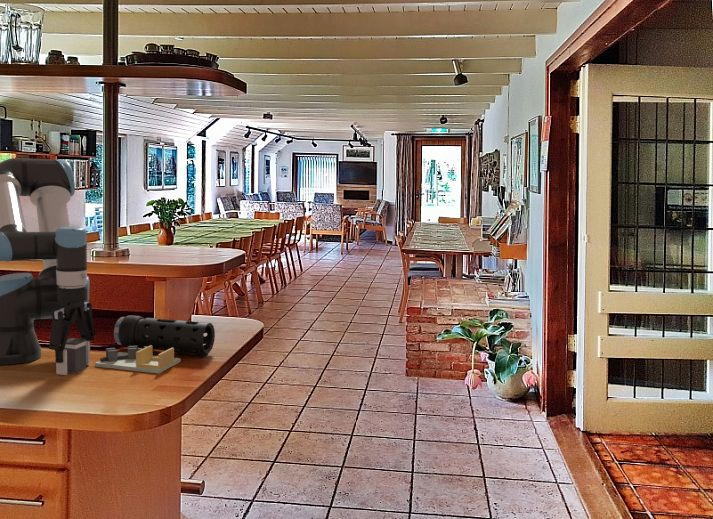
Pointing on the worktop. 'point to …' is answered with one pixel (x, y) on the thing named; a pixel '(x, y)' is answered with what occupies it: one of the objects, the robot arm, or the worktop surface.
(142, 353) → the end holder
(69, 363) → the plug
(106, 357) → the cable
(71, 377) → the worktop surface
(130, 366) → the board
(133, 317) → the muzzle brake
